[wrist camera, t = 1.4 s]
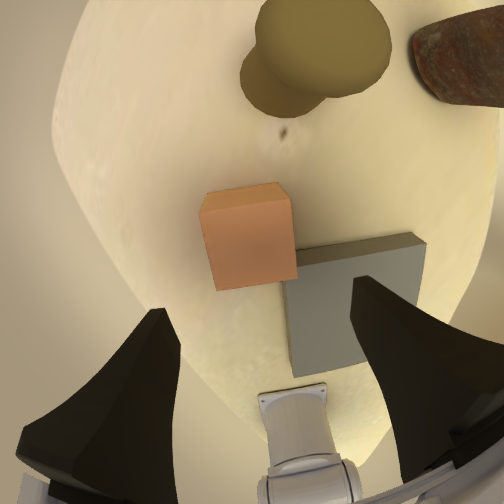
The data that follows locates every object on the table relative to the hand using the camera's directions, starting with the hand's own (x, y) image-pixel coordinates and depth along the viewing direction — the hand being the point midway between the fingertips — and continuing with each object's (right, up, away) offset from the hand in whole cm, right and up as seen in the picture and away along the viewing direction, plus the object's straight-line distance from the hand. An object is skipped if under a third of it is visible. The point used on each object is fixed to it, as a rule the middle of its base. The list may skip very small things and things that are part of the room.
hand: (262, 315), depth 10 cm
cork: (+2, +14, +6) cm, 16 cm away
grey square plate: (+8, -2, +14) cm, 17 cm away
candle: (+15, +18, +5) cm, 24 cm away
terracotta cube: (-1, +5, +10) cm, 11 cm away
